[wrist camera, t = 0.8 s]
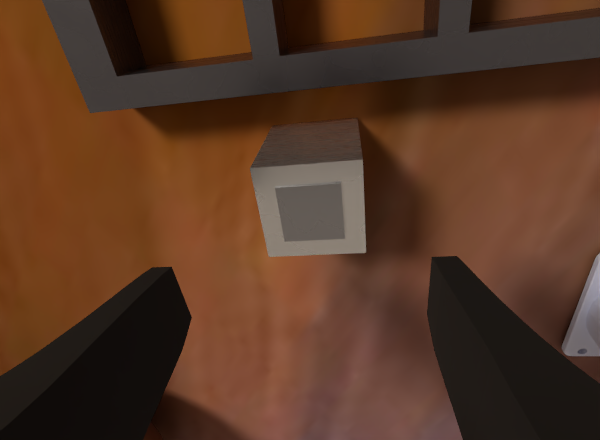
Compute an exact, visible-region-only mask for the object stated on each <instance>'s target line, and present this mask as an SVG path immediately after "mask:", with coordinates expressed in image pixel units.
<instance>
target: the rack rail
mask: <svg viewBox="0 0 600 440" xmlns="http://www.w3.org/2000/svg"><path fill="white" fill-rule="evenodd" d="M42 1H43V3H44V6H45V8H46V11H47V13H48V15H49V18H50V20H51V22H52V25H53V27H54V29H55V32H56V34H57V36H58V39H59V41H60V43H61V46H62V48H63V50H64V53H65V55H66V57H67V60H68V62H69V64H70V67H71V69H72V72H73V74H74V76H75V79H76V81H77V83H78V86H79V88H80V90H81V93H82V95H83V97H84V100H85V102H86V104H87V107H88V109H89V111H90V113H94V112H103V111H112V110H122V109H131V108H140V107H149V106H158V105H168V104H177V103H186V102H195V101H204V100H213V99H223V98H232V97H241V96H250V95H259V94H269V93H278V92H287V91H296V90H305V89H315V88H324V87H333V86H342V85H351V84H360V83H370V82H379V81H388V80H397V79H406V78H416V77H425V76H434V75H443V74H452V73H461V72H471V71H480V70H489V69H498V68H507V67H517V66H526V65H535V64H544V63H553V62H562V61H572V60H581V59H590V58H599V57H600V8H596V9H588V10H580V11H573V12H565V13H557V14H549V15H541V16H533V17H525V18H518V19H510V20H502V21H494V22H486V23H478V24H470V15H471V6H472V0H425V11H424V30H423V31H415V32H408V33H400V34H392V35H384V36H376V37H368V38H360V39H353V40H345V41H337V42H329V43H321V44H313V45H305V46H298V47H290V48H288V41H287V33H286V26H285V18H284V10H283V2H282V0H243V5H244V11H245V17H246V22H247V28H248V34H249V39H250V45H251V50H252V52H250V53H243V54H235V55H227V56H219V57H211V58H203V59H195V60H188V61H180V62H172V63H164V64H156V65H148V66H146V64H145V61H144V57H143V54H142V51H141V48H140V45H139V42H138V39H137V36H136V33H135V30H134V27H133V23H132V20H131V17H130V14H129V11H128V8H127V5H126V2H125V0H42Z"/></svg>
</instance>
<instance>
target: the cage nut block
mask: <svg viewBox="0 0 600 440" xmlns="http://www.w3.org/2000/svg"><path fill="white" fill-rule="evenodd" d="M250 171H251V176H252V180H253V185H254V190H255V194H256V199H257V204H258V208H259V213H260V218H261V223H262V227H263V232H264V237H265V241H266V246H267V251H268V255H269V257H275V256H300V255H324V254H349V253H366V234H365V206H364V179H363V157H362V150H361V142H360V134H359V127H358V119H357V118H347V119H337V120H326V121H316V122H305V123H295V124H284V125H274V126H272V127H271V129H270V131H269V133H268V135H267V137H266V139H265V141H264V142H263V144H262V146H261V148H260V150H259V152H258V154H257V156H256V158H255V160H254V162H253V164H252V165H251V167H250Z"/></svg>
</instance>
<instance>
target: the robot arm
mask: <svg viewBox="0 0 600 440" xmlns="http://www.w3.org/2000/svg"><path fill="white" fill-rule="evenodd" d="M427 315H428V321H429V326H430V331H431V336H432V341H433V346H434V351H435V354H436V357H437V360H438V363H439V367H440V370H441V373H442V376H443V379H444V382H445V385H446V388H447V391H448V395H449V398H450V401H451V404H452V407H453V410H454V413H455V416H456V419H457V422H458V425H459V429H460V432H461V435H462V438H463V440H600V384H599V383H598V382H597V381H595V380H594V379H593V378H591V377H590V376H589V375H587V374H586V373H585V372H583V371H582V370H581V369H579V368H578V367H577V366H575V365H574V364H573V363H572V362H570V361H569V360H568V359H566V358H565V357H564V356H563V355H562V354H560V353H559V352H558V351H557V350H556V349H554V348H553V347H552V346H551V345H550V344H548V343H547V342H546V341H545V340H544V339H543V338H541V337H540V336H539V335H538V334H537V333H536V332H534V331H533V330H532V329H531V328H530V327H529V326H528V325H527V324H526V323H524V322H523V321H522V320H521V319H520V318H519V317H518V316H517V315H516V314H515V313H514V312H513V311H512V310H510V309H509V308H508V307H507V306H506V305H505V304H504V303H503V302H502V301H501V300H500V299H499V298H498V297H497V296H496V295H495V294H494V293H493V292H492V291H491V290H490V289H489V288H488V287H487V286H486V285H485V284H484V283H483V282H482V281H481V280H480V279H479V278H478V277H477V276H476V275H475V274H474V273H473V272H472V271H471V270H470V269H469V268H468V267H467V266H466V265H465V264H464V263H463V262H462V261H461V260H460V259H459V258H458V257H457V256H448V257H432V262H431V274H430V286H429V298H428V310H427ZM191 318H192V317H191V314H190V312H189V309H188V307H187V304H186V302H185V299H184V297H183V294H182V292H181V289H180V287H179V284H178V282H177V279H176V277H175V274H174V272H173V269H172V267H156V268H151V269H149V270H148V271H146V272H145V273H143V274H142V275H141V276H139V277H138V278H137V279H135V280H134V281H133V282H131V283H130V284H129V285H127V286H126V287H125V288H123V289H122V290H121V291H120V292H118V293H117V294H116V295H114V296H113V297H112V298H111V299H109V300H108V301H107V302H105V303H104V304H103V305H101V306H100V307H99V308H98V309H96V310H95V311H94V312H92V313H91V314H90V315H88V316H87V317H86V318H84V319H83V320H82V321H80V322H79V323H78V324H76V325H75V326H73V327H72V328H71V329H69V330H68V331H67V332H65V333H64V334H62V335H61V336H60V337H58V338H57V339H56V340H54V341H53V342H51V343H50V344H49V345H47V346H46V347H44V348H43V349H41V350H40V351H39V352H37V353H36V354H34V355H33V356H31V357H30V358H28V359H27V360H25V361H24V362H22V363H21V364H19V365H17V366H16V367H14V368H13V369H11V370H9V371H8V372H6V373H5V374H3V375H2V376H0V440H143V439H144V437H145V434H146V432H147V429H148V427H149V424H150V422H151V420H152V418H153V415H154V413H155V411H156V409H157V406H158V404H159V402H160V400H161V397H162V395H163V393H164V391H165V388H166V386H167V384H168V382H169V379H170V377H171V375H172V373H173V370H174V368H175V366H176V363H177V361H178V359H179V356H180V354H181V352H182V349H183V346H184V342H185V339H186V336H187V332H188V329H189V325H190V321H191ZM561 349H562V350H563V352H564V353H565V355H567V356H600V253H599V254H598V255H597V256H596V258H595V260H594V263H593V266H592V268H591V271H590V273H589V276H588V279H587V281H586V284H585V287H584V289H583V292H582V294H581V297H580V300H579V302H578V305H577V308H576V310H575V313H574V315H573V318H572V321H571V323H570V326H569V329H568V331H567V334H566V336H565V339H564V342H563V344H562V348H561Z"/></svg>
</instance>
